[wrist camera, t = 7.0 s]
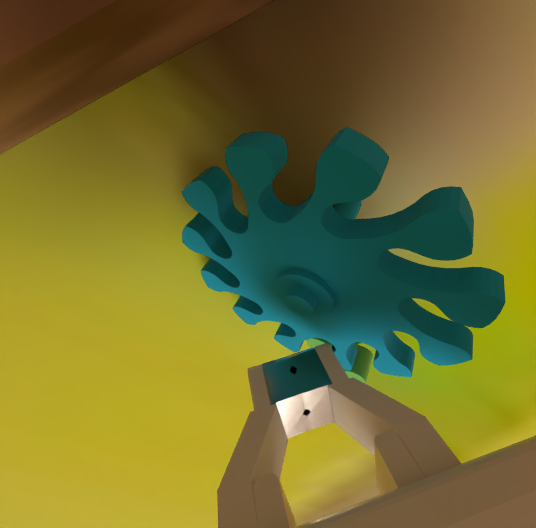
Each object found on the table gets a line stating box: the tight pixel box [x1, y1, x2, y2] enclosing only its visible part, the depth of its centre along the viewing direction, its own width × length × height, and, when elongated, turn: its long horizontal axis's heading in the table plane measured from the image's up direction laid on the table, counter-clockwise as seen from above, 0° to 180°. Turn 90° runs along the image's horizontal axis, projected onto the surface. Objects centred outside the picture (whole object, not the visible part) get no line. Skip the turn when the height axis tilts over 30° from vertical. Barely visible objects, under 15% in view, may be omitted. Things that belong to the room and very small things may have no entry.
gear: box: [182, 127, 505, 383], centre depth 11 cm, size 11×6×10 cm
